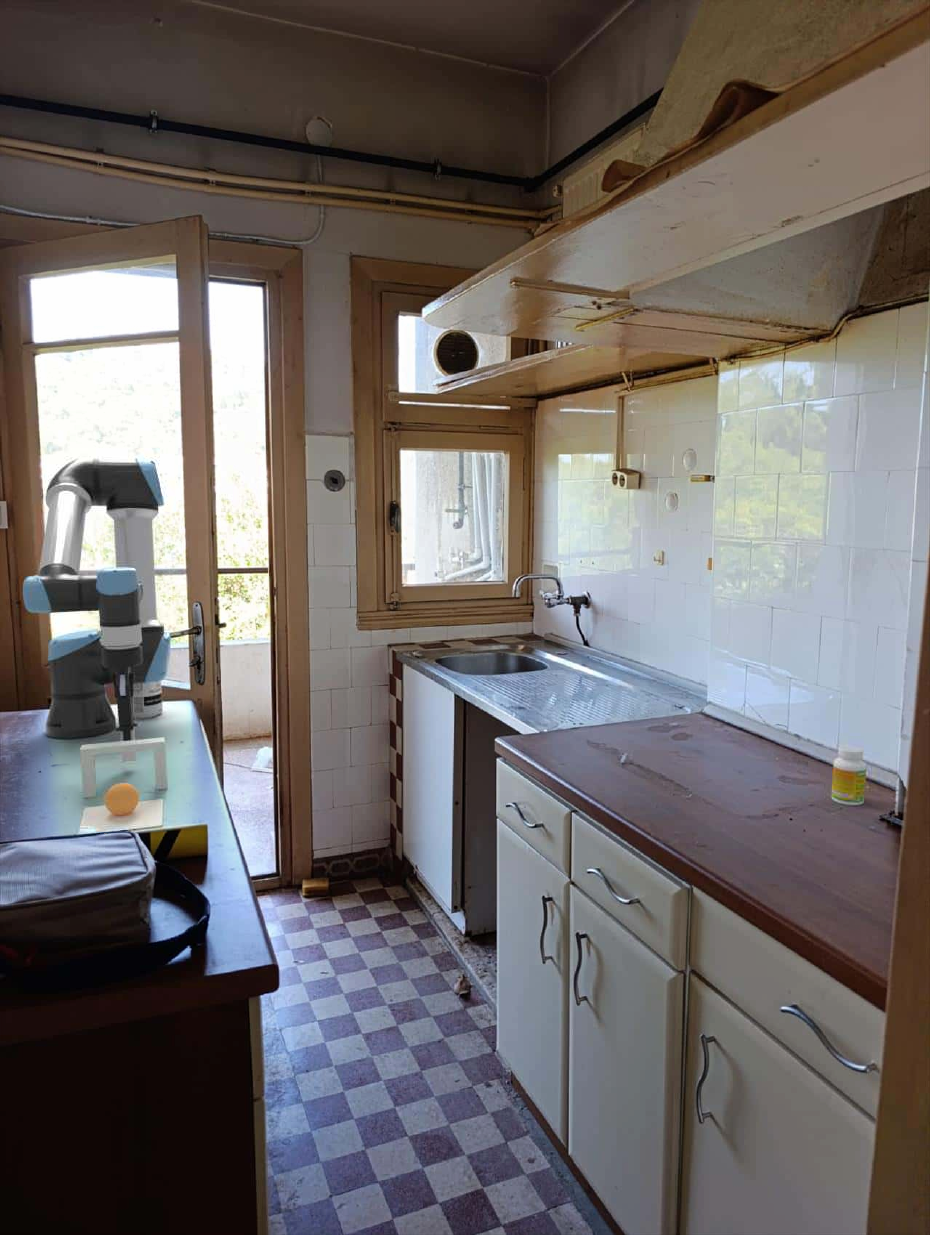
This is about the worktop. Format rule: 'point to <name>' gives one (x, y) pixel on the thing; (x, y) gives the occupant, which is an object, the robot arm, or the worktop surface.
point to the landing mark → (124, 817)
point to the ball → (121, 799)
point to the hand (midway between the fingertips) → (129, 760)
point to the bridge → (122, 746)
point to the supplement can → (147, 699)
